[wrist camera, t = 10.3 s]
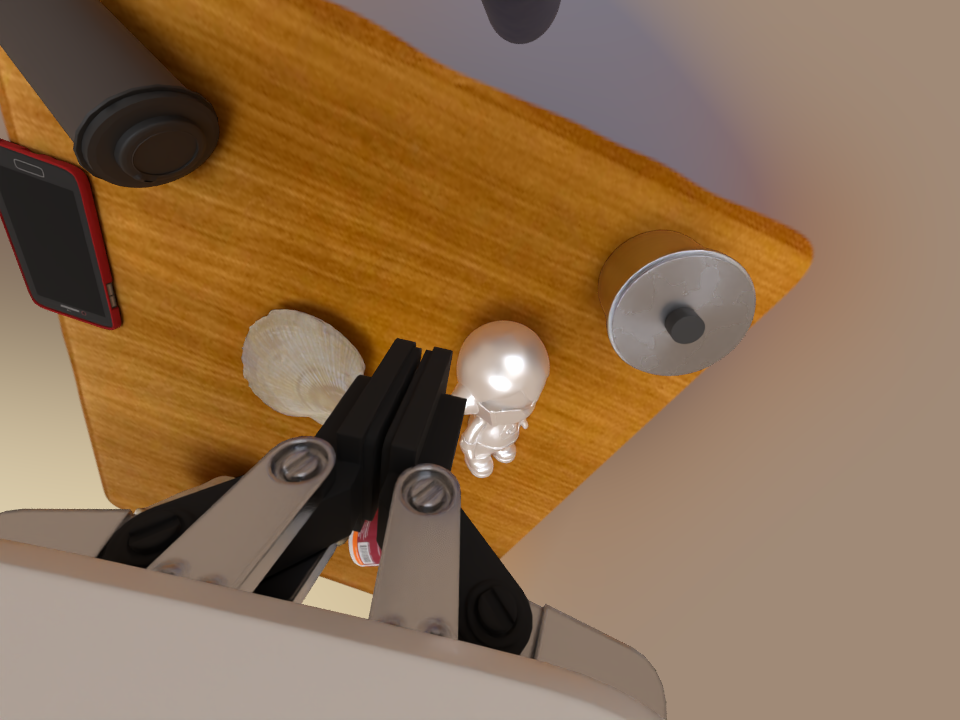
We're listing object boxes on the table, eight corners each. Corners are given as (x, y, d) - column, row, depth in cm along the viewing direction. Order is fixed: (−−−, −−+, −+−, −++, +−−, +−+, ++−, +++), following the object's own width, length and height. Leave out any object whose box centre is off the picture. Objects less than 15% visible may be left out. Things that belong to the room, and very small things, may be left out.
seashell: (251, 284, 32) (227, 297, 29) (382, 325, 32) (370, 340, 30) (258, 388, 38) (239, 405, 36) (369, 420, 38) (357, 440, 36)
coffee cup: (-49, 62, 21) (96, 213, 23) (-113, -110, 15) (85, 110, 17) (116, 63, 27) (220, 184, 29) (113, -62, 21) (242, 100, 23)
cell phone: (89, 168, 28) (76, 169, 27) (126, 329, 36) (116, 333, 35) (-16, 130, 28) (-33, 130, 27) (44, 302, 36) (32, 305, 35)
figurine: (463, 512, 32) (481, 397, 21) (419, 449, 36) (417, 326, 25) (550, 453, 37) (599, 338, 26) (503, 404, 41) (530, 287, 31)
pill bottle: (379, 517, 49) (458, 511, 46) (369, 571, 45) (455, 568, 42) (353, 502, 44) (440, 495, 41) (340, 561, 40) (435, 557, 38)
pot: (616, 214, 26) (646, 243, 19) (734, 238, 25) (806, 276, 19) (579, 319, 30) (592, 373, 23) (679, 341, 30) (721, 401, 23)
